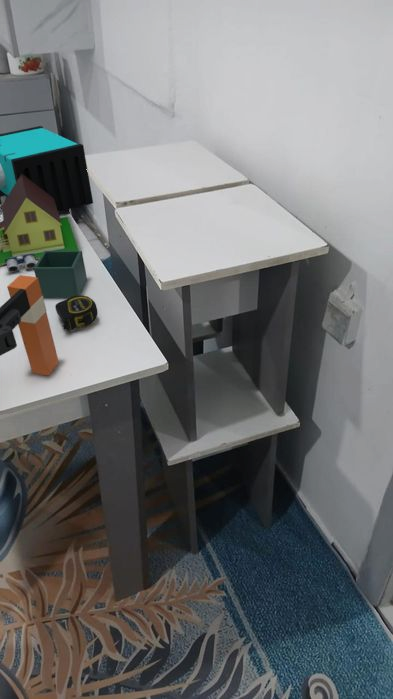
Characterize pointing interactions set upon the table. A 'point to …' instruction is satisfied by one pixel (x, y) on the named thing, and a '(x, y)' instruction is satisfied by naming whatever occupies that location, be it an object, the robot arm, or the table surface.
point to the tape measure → (76, 312)
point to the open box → (61, 274)
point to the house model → (32, 223)
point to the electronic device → (45, 166)
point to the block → (35, 327)
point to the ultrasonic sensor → (14, 261)
